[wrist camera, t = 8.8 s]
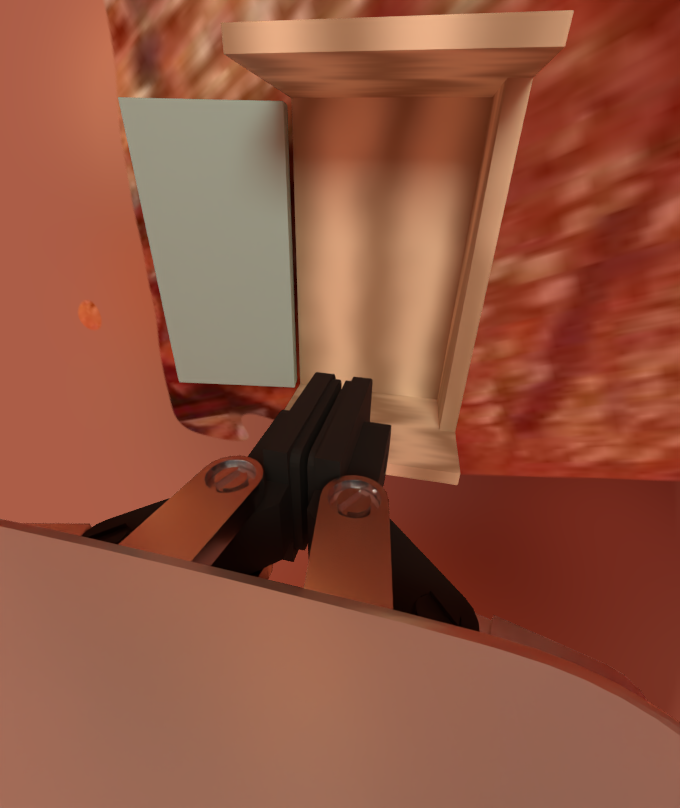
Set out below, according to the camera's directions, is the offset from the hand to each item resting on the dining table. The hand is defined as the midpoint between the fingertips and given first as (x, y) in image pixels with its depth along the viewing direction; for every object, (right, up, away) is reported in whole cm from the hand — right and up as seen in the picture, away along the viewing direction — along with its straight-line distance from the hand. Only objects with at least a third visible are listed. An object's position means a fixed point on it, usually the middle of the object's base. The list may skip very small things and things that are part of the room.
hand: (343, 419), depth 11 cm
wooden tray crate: (+4, +12, +21) cm, 24 cm away
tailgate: (-4, +12, +19) cm, 23 cm away
